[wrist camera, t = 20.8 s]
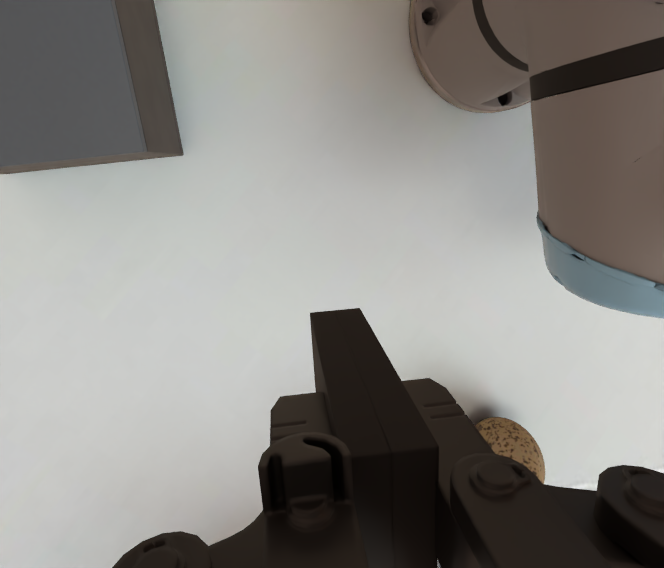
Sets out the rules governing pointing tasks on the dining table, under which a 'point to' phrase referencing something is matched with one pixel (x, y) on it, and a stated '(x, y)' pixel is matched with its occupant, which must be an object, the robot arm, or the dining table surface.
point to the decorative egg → (513, 443)
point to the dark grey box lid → (64, 83)
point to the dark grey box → (138, 90)
